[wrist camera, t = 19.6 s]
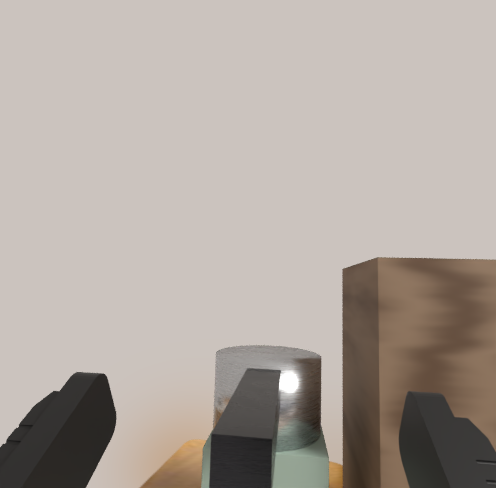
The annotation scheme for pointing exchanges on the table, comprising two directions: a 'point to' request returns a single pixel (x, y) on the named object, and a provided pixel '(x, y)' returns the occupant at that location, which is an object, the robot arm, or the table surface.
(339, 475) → the table surface
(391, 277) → the tall walnut stand
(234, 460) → the steel pot
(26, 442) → the robot arm
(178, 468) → the table surface
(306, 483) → the block
